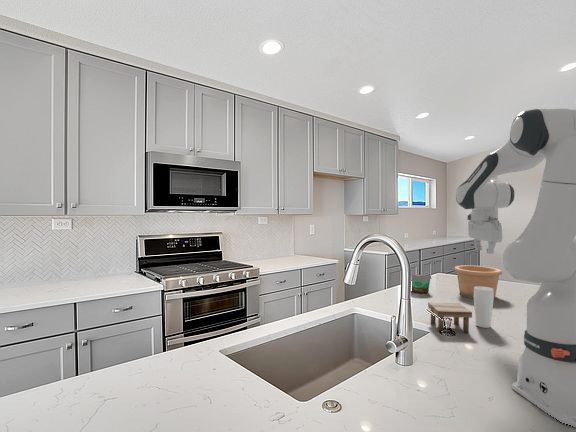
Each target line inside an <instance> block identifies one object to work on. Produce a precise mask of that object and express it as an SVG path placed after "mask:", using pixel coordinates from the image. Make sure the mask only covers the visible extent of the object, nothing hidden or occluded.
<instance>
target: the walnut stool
mask: <svg viewBox="0 0 576 432" xmlns="http://www.w3.org/2000/svg"><path fill="white" fill-rule="evenodd" d="M427 305H428V306H427V307H428V308H429V309H430V312H431V311H432V312H433V313H435V314H436V316H437V317H440V318H441V319H444V318H453V324H454V325H460V318H463V319H462V321H463V323H462V325H463V327H462V330H463V331H462V333H464V334H468V333H470V331H469V330H470V329H469V328H470V327H469V325H470V322H469V320H470V319H471V318H473V311H471V310H470V309H468V308H467V307H466V306H464V305H463V304H461V303H459V302H432V301H431V302H430V301H429V302H428V304H427ZM437 317H435V316H433V315H432V314H431V313H430V324H432V325H435V324H436V318H437ZM444 320H445V319H444ZM437 322H438V324H437V325H438V327H437V329H438V332H439V331H441V330H443V329H444V328H445V327H444V326H445V325H444V322H445V321H444V322H443V321H441V320H440V319H437Z"/></svg>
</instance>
